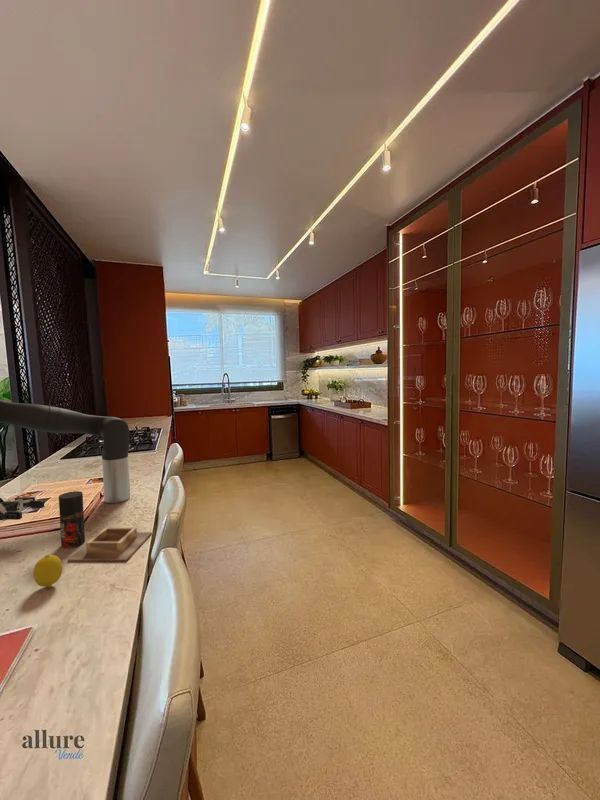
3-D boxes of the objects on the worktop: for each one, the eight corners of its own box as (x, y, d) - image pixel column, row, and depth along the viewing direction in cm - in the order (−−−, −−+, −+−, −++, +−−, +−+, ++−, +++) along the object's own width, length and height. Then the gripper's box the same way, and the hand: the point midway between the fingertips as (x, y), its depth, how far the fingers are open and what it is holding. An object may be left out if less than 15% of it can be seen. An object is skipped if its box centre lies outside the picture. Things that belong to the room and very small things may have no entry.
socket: (101, 534, 110) (101, 523, 109) (151, 534, 110) (151, 523, 109) (67, 561, 94) (66, 548, 93) (126, 561, 94) (125, 549, 93)
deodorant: (89, 539, 106) (87, 491, 105) (75, 548, 100) (72, 498, 99) (71, 538, 107) (69, 490, 106) (56, 547, 101) (53, 498, 100)
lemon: (68, 582, 84) (66, 551, 84) (45, 596, 79) (43, 562, 79) (52, 578, 86) (50, 547, 86) (28, 591, 81) (26, 558, 80)
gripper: (-47, 505, 95) (12, 506, 95) (-2, 488, 110) (49, 489, 110) (-45, 531, 96) (13, 532, 96) (-1, 511, 110) (50, 512, 110)
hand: (32, 509), depth 103 cm, fingers open, 8 cm apart
